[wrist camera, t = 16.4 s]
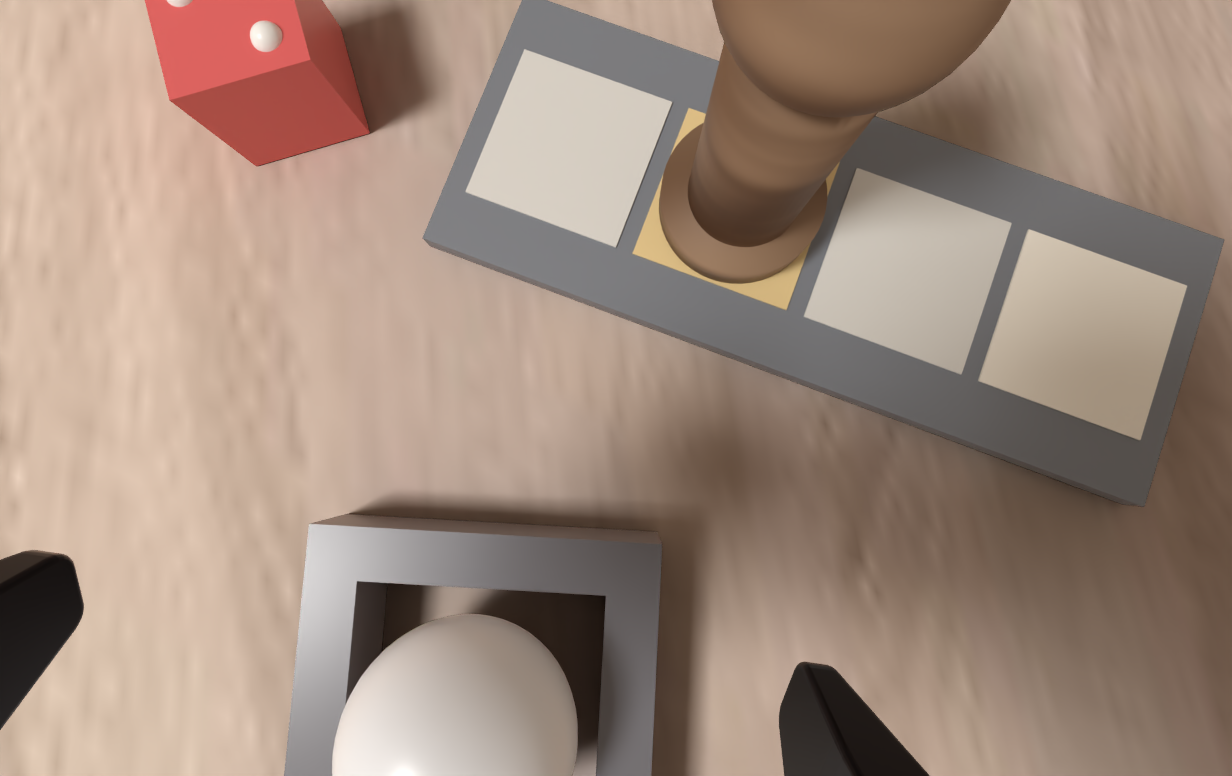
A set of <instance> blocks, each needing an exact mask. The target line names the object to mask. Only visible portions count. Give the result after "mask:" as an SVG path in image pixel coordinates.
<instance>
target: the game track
mask: <svg viewBox="0 0 1232 776" xmlns="http://www.w3.org/2000/svg"><path fill="white" fill-rule="evenodd" d="M718 65H719V61H717V60H714V59H711V58H708V57H706V56H703V55H700V54H697V53H694V52H691V51H689V50H686V49H683V48H680V47H677V46H674V45H672V44H669V43H666V42H663V41H660V40H657V39H655V38H652V37H649V36H646V35H643V34H640V33H638V32H635V31H632V30H629V29H626V28H623V27H621V26H618V25H615V24H612V23H609V22H606V21H604V20H601V19H598V18H595V17H592V16H589V15H587V14H584V13H581V12H578V11H575V10H572V9H570V8H567V7H564V6H561V5H558V4H555V3H553V2H550V1H547V0H522V2H521V4H520V6H519V9H518V11H517V13H516V16H515V18H514V21H513V23H512V25H511V28H510V30H509V33H508V35H507V37H506V40H505V42H504V45H503V47H502V49H501V52H500V54H499V56H498V59H497V61H496V64H495V66H494V68H493V71H492V73H491V76H490V78H489V80H488V83H487V85H486V88H485V90H484V92H483V95H482V97H481V99H480V102H479V104H478V107H477V109H476V111H475V114H474V116H473V119H472V121H471V123H470V126H469V128H468V131H467V133H466V135H465V138H464V140H463V143H462V145H461V147H460V150H459V152H458V154H457V157H456V159H455V162H454V164H453V166H452V169H451V171H450V174H449V176H448V178H447V181H446V183H445V186H444V188H443V190H442V193H441V195H440V197H439V200H438V202H437V205H436V207H435V209H434V212H433V214H432V217H431V219H430V221H429V224H428V226H427V229H426V231H425V233H424V236H423V239H424V240H425V241H426V242H427V243H428V244H429V245H430V246H431V247H434V248H436V249H439V250H442V251H444V252H447V253H450V254H453V255H455V256H458V257H461V258H463V259H466V260H469V261H471V262H474V263H477V264H479V265H482V266H485V267H487V268H490V269H493V270H495V271H498V272H501V273H503V274H506V275H509V276H512V277H514V278H517V279H520V280H522V281H525V282H528V283H530V284H533V285H536V286H538V287H541V288H544V289H546V290H549V291H552V292H554V293H557V294H560V295H562V296H565V297H568V298H571V299H573V300H576V301H579V302H581V303H584V304H587V305H589V306H592V307H595V308H597V309H600V310H603V311H605V312H608V313H611V314H613V315H616V316H619V317H621V318H624V319H627V320H630V321H632V322H635V323H638V324H640V325H643V326H646V327H648V328H651V329H654V330H656V331H659V332H662V333H664V334H667V335H670V336H672V337H675V338H678V339H680V340H683V341H686V342H689V343H691V344H694V345H697V346H699V347H702V348H705V349H707V350H710V351H713V352H715V353H718V354H721V355H723V356H726V357H729V358H731V359H734V360H737V361H740V362H742V363H745V364H748V365H750V366H753V367H756V368H758V369H761V370H764V371H766V372H769V373H772V374H774V375H777V376H780V377H782V378H785V379H788V380H790V381H793V382H796V383H799V384H801V385H804V386H807V387H809V388H812V389H815V390H817V391H820V392H823V393H825V394H828V395H831V396H833V397H836V398H839V399H841V400H844V401H847V402H849V403H852V404H855V405H858V406H860V407H863V408H866V409H868V410H871V411H874V412H876V413H879V414H882V415H884V416H887V417H890V418H892V419H895V420H898V421H900V422H903V423H906V424H908V425H911V426H914V427H917V428H919V429H922V430H925V431H927V432H930V433H933V434H935V435H938V436H941V437H943V438H946V439H949V440H951V441H954V442H957V443H959V444H962V445H965V446H967V447H970V448H973V449H976V450H978V451H981V452H984V453H986V454H989V455H992V456H994V457H997V458H1000V459H1002V460H1005V461H1008V462H1010V463H1013V464H1016V465H1018V466H1021V467H1024V468H1026V469H1029V470H1032V471H1035V472H1037V473H1040V474H1043V475H1045V476H1048V477H1051V478H1053V479H1056V480H1059V481H1061V482H1064V483H1067V484H1069V485H1072V486H1075V487H1077V488H1080V489H1083V490H1085V491H1088V492H1091V493H1094V494H1096V495H1099V496H1102V497H1104V498H1107V499H1110V500H1112V501H1115V502H1118V503H1120V504H1124V505H1132V506H1140V507H1144V506H1145V503H1146V499H1147V496H1148V493H1149V489H1150V486H1151V483H1152V479H1153V476H1154V473H1155V469H1156V466H1157V463H1158V459H1159V456H1160V453H1161V449H1162V446H1163V443H1164V439H1165V436H1166V433H1167V429H1168V426H1169V423H1170V419H1171V416H1172V413H1173V409H1174V406H1175V403H1176V399H1177V396H1178V393H1179V389H1180V386H1181V383H1182V379H1183V376H1184V373H1185V369H1186V366H1187V363H1188V359H1189V356H1190V353H1191V349H1192V346H1193V343H1194V339H1195V336H1196V333H1197V329H1198V326H1199V323H1200V319H1201V316H1202V313H1203V309H1204V306H1205V303H1206V299H1207V296H1208V293H1209V289H1210V286H1211V283H1212V279H1213V276H1214V273H1215V269H1216V266H1217V263H1218V259H1219V256H1220V253H1221V249H1222V246H1223V243H1224V239H1221V238H1218V237H1216V236H1213V235H1210V234H1207V233H1204V232H1201V231H1199V230H1196V229H1193V228H1190V227H1187V226H1184V225H1182V224H1179V223H1176V222H1173V221H1170V220H1167V219H1165V218H1162V217H1159V216H1156V215H1153V214H1150V213H1148V212H1145V211H1142V210H1139V209H1136V208H1133V207H1131V206H1128V205H1125V204H1122V203H1119V202H1116V201H1114V200H1111V199H1108V198H1105V197H1102V196H1099V195H1097V194H1094V193H1091V192H1088V191H1085V190H1082V189H1080V188H1077V187H1074V186H1071V185H1068V184H1065V183H1063V182H1060V181H1057V180H1054V179H1051V178H1048V177H1046V176H1043V175H1040V174H1037V173H1034V172H1031V171H1029V170H1026V169H1023V168H1020V167H1017V166H1014V165H1012V164H1009V163H1006V162H1003V161H1000V160H997V159H995V158H992V157H989V156H986V155H983V154H980V153H978V152H975V151H972V150H969V149H966V148H963V147H961V146H958V145H955V144H952V143H949V142H946V141H944V140H941V139H938V138H935V137H932V136H929V135H927V134H924V133H921V132H918V131H915V130H912V129H910V128H907V127H904V126H901V125H898V124H895V123H893V122H890V121H887V120H884V119H881V118H878V117H876V116H875V117H874V118H873V119H872V120H871V122H870V123H869V124H868V126H867V127H866V128H865V129H864V131H863V132H862V133H861V135H860V136H859V137H858V138H857V140H856V141H855V142H854V144H853V145H852V146H851V147H850V149H849V150H848V151H847V153H846V154H845V155H844V156H843V158H842V159H841V160H840V162H839V163H838V164H837V165H836V167H835V168H834V169H833V171H832V172H831V173H830V174H829V176H828V177H827V178H826V183H827V205H826V211H825V215H824V218H823V221H822V224H821V226H820V228H819V230H818V232H817V234H816V235H815V237H814V239H813V240H812V241H811V242H810V244H809V245H808V246H807V247H806V248H805V249H804V251H803V252H802V253H801V254H800V255H799V256H798V257H797V258H796V259H795V260H794V261H793V262H792V263H791V264H790V265H789V266H787V267H786V268H785V269H783V270H782V271H780V272H779V273H777V274H775V275H773V276H771V277H769V278H766V279H764V280H761V281H757V282H752V283H744V284H730V283H724V282H719V281H715V280H712V279H709V278H707V277H704V276H702V275H700V274H698V273H697V272H695V271H693V270H692V269H691V268H689V267H688V266H687V265H686V264H684V263H683V262H682V261H681V260H680V259H679V258H678V257H677V255H676V254H675V253H674V251H673V250H672V249H671V247H670V245H669V244H668V242H667V240H666V238H665V235H664V233H663V230H662V227H661V223H660V216H659V198H660V191H661V185H662V179H663V173H664V170H665V167H666V164H667V162H668V160H669V157H670V155H671V154H672V152H673V150H674V149H675V147H676V146H677V145H678V143H679V142H680V141H681V140H682V139H683V138H684V137H685V136H686V135H687V134H688V133H689V132H690V131H691V130H693V129H694V128H696V127H697V126H699V125H700V124H702V123H704V120H705V116H706V112H707V108H708V104H709V100H710V96H711V92H712V88H713V84H714V80H715V77H716V73H717V69H718Z"/></svg>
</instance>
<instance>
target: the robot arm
mask: <svg viewBox="0 0 1232 776" xmlns="http://www.w3.org/2000/svg"><path fill="white" fill-rule="evenodd" d="M83 610H84V603H83V599H82V595H81V590H80V586H79V582H78V578H77V574H76V570H75V566H74V563H73V561H72V560H71V559H70V558H69V557H68V556H66V555H64V554H59V553H52V552H45V551H38V550H29V551H24V552H21V553H18V554H15V555H12V556H10V557H7V558H4V559H1V560H0V730H1V728H2V727H3V726H4V724H5V723H6V722H7V720H8V719H9V718H10V716H11V715H12V714H13V712H14V711H15V710H16V708H17V707H18V706H19V704H20V703H21V702H22V700H23V699H24V698H25V696H26V695H27V694H28V692H29V691H30V689H31V688H32V687H33V685H34V684H35V683H36V681H37V680H38V679H39V677H40V676H41V675H42V673H43V672H44V671H45V669H46V668H47V667H48V665H49V664H50V663H51V661H52V660H53V659H54V657H55V656H56V655H57V653H58V652H59V651H60V649H61V648H62V647H63V645H64V644H65V643H66V641H67V640H68V639H69V637H70V636H71V635H72V633H73V632H74V630H75V629H76V628H77V626H78V624H79V622H80V620H81V618H82V615H83ZM779 729H780V738H781V748H782V757H783V767H784V776H929V774H928V773H927V772H926V771H925V770H924V769H923V768H922V767H921V765H920V764H919V763H918V762H917V761H916V760H915V759H914V757H913V756H912V755H911V754H910V753H909V752H908V751H907V750H906V748H905V747H904V746H903V745H902V744H901V743H900V742H899V741H898V739H897V738H896V737H895V736H894V735H893V734H892V733H891V731H890V730H889V729H888V728H887V727H886V726H885V725H884V724H883V722H882V721H881V720H880V719H879V718H878V717H877V716H876V715H875V713H874V712H873V711H872V710H871V709H870V708H869V707H868V705H867V704H866V703H865V702H864V701H863V700H862V699H861V698H860V696H859V695H858V694H857V693H856V692H855V691H854V690H853V689H852V687H851V686H850V685H849V684H848V683H847V682H846V681H845V679H844V678H843V677H842V676H841V675H840V674H839V673H838V672H837V671H836V670H835V669H834V668H833V667H831V666H829V665H823V664H817V663H810V662H801V663H799V664H798V665H797V666H796V668H795V670H794V673H793V675H792V678H791V680H790V683H789V685H788V688H787V691H786V693H785V696H784V698H783V701H782V703H781V707H780V712H779Z"/></svg>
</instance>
